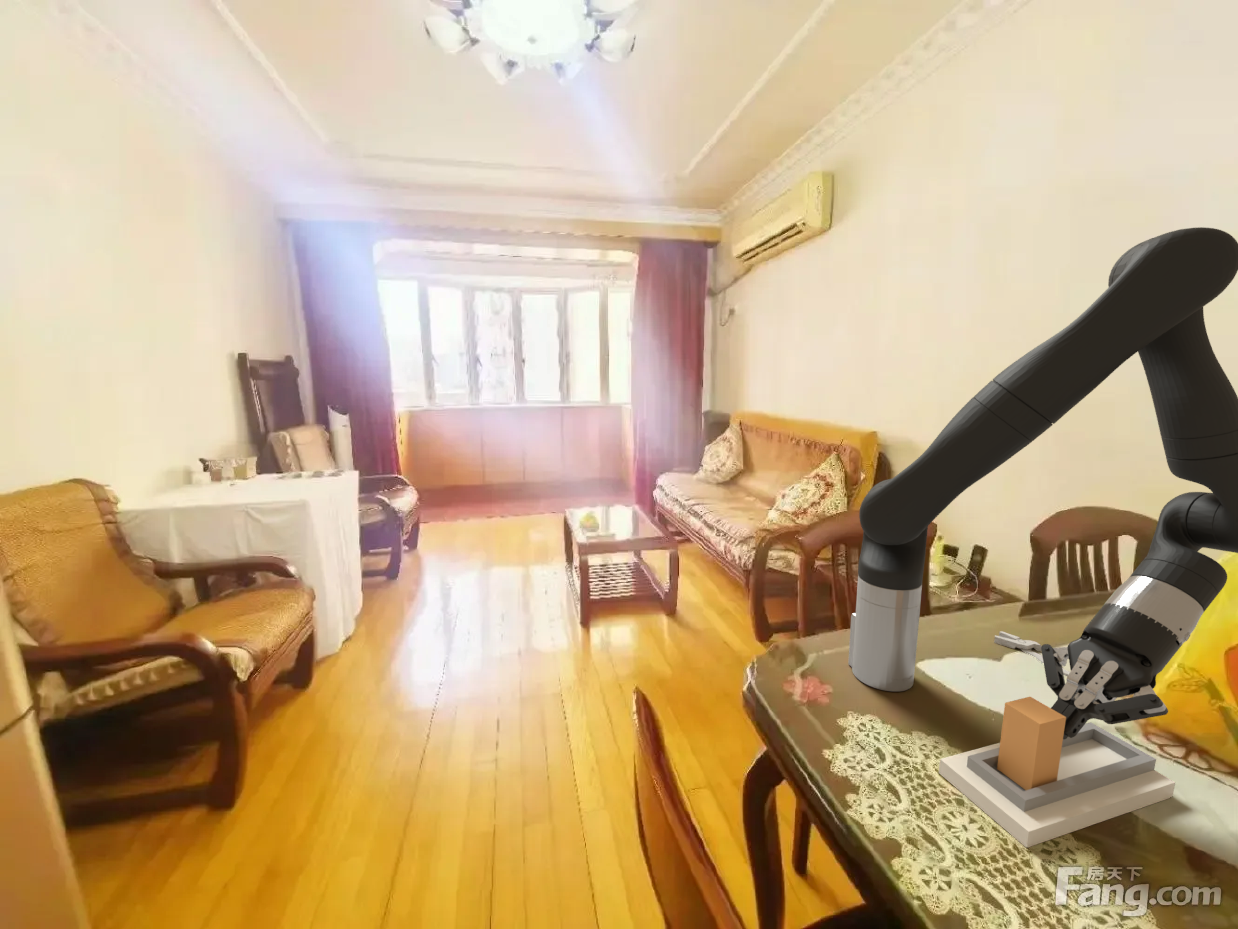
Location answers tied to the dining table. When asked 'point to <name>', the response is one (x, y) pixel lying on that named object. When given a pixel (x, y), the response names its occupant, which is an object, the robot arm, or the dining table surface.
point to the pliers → (1021, 645)
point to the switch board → (1062, 786)
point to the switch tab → (1030, 743)
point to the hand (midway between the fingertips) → (1054, 732)
